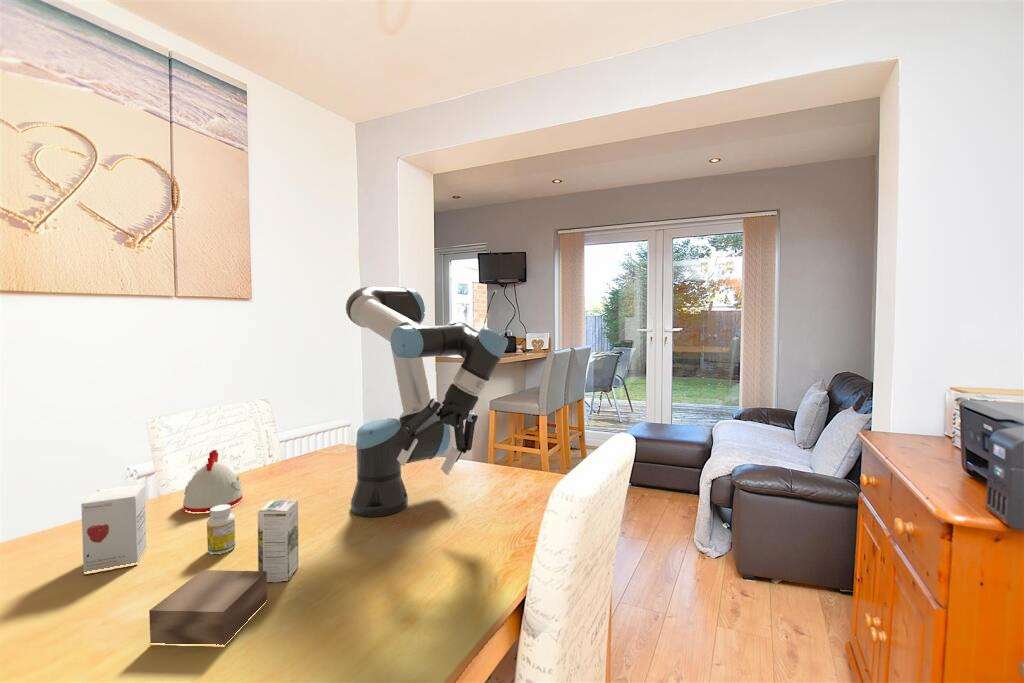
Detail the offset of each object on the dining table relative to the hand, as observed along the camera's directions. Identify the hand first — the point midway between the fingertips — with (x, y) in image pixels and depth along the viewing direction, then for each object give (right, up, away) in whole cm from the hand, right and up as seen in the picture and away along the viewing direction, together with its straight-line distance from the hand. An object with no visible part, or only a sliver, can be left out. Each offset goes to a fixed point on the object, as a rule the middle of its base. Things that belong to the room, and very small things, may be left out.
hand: (423, 467), depth 112 cm
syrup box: (-26, -17, -17) cm, 35 cm away
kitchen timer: (-63, -16, +20) cm, 67 cm away
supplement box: (-63, -17, -12) cm, 67 cm away
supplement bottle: (-44, -17, -7) cm, 48 cm away
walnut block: (-30, -18, -32) cm, 47 cm away
